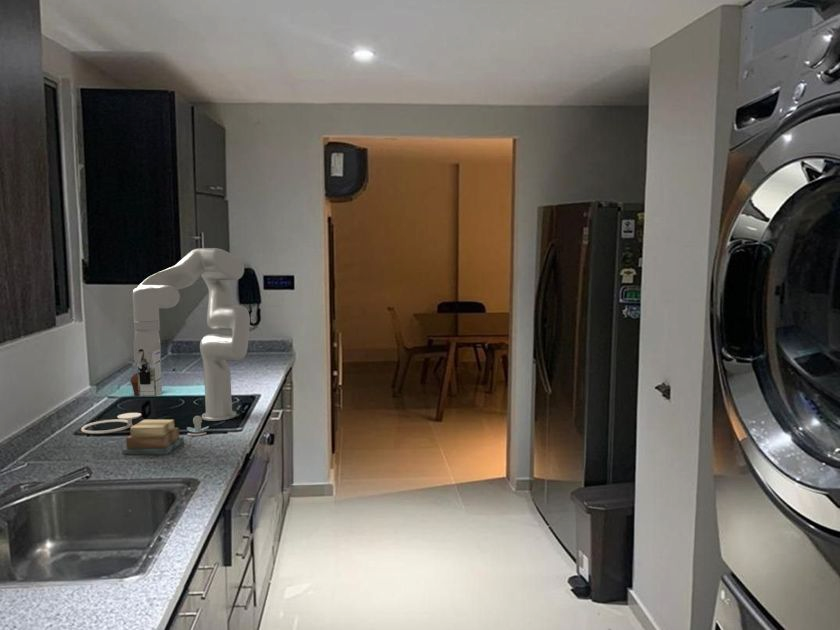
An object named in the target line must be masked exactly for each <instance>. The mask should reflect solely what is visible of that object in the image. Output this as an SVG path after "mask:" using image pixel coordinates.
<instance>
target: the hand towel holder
mask: <svg viewBox="0 0 840 630" xmlns="http://www.w3.org/2000/svg"><path fill="white" fill-rule="evenodd" d="M141 416H142V413H140V412H126V413H122V414H118V415H117V416H116V417H117V419H103V420H99V421H94V422H90V423H87V424H85V425H83V426H82V427H81V428H80V431H81V432H82V433H84V434H91V435H92V434H93V435H101V434H102V435H103V434H110V433H117V432H121V431H125V430H128V429H129V428H131V427H132V426H134V424H133V419H138V418H139V417H141ZM107 423H126V424H127V425H125V426H122V427H118V428H114V429H113V428H112V429H107V430H87V428H88V427H92V426H94V425H100V424H107Z"/></svg>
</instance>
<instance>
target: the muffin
mask: <svg viewBox="0 0 840 630" xmlns="http://www.w3.org/2000/svg"><path fill="white" fill-rule="evenodd" d="M129 382H130V383H131V386H132V392H133V395H134V396H139V387H138V372H136V373H135V374H133V375H132V377H130V379H129Z"/></svg>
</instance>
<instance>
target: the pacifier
mask: <svg viewBox="0 0 840 630" xmlns="http://www.w3.org/2000/svg"><path fill="white" fill-rule="evenodd" d="M192 422H193V425H194V427H191V426H187V427H186V430H187V431H188V432H187V436H190V437H199V436H204V435H207V432H206V430H208V429H209V426H210V425H209V426H205V427H202V422H203V419H202V416H201V415H194V417H193V419H192Z"/></svg>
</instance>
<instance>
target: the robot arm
mask: <svg viewBox="0 0 840 630" xmlns="http://www.w3.org/2000/svg"><path fill="white" fill-rule="evenodd" d="M244 274H245V265H244V262H243V261H242V259H241V258H240V257H239V256H236V255H234V254H233V253H231V252H229V251H226V250H225V249H221V248H218V247H209V248H208V247H202V248H194V249H192V250H191V251H190V252H188V253H187V254H186V255H185V256H183V258H182V259H180V260H179V261H178V262H177V263H176V264H175V265H172V266H171V267H168V268H166V269H163V270H161V271H158V272H156V273H154V274H152V275H150V276H148V277H147V278H145V279H144V280H143V281H142V282H141V283H139V285H138V286H137V287H135V288H134V289H133V290H132V308H133V309H132V311H133V326H134V329H133V330H134V339H133V361H134V363H135V365H136V366H138V369H139V374H140V384H141V385H149V384H151V380H150V372H149V363H150V362H151V359H152V352H153V351H155V350H158V349H159V350H160V358H162V347H161V338H160V332H159V331H160V330H161V325H160V309H171V308H174V307H175V306H176V305H177V304H179V301H180V295H181V294H180V292H179V290H180V289H186V288H188V287H190V286H192V285H193V284H194V283H195V282H196V281H197V280H198V279H199V278H200V277H201V278H202V279H203V281H204V282H205V284H206V287H207V289H208V302H207V303H208V305H207V312H206V313H207V314H206V323H207V326H208V328H209V329H211V330H214V331H229V332H230V331H232V333H210V334H206V335H204V336H203V337H202V339H200V342H199V352H200V356H201V360H202V364H203V365H202V367H203V378H204V379H203V380H204V381H203V382H204V383H203V384H204V400H205V412H204V413H202V415H201V418H202V420H204V421H208V422H210V421H211V422H216V421H217V422H219V421H226V420H230V419H234V418H235V417H236V416H237V412H236V411H235V410H233V401H232V399H233V398H232V382H231V380H232V379H231V375H232V374H231V367H230V366H229V364H228V362H227V361H228V360H229V361H239V360H243V359H244V358H245V357H246V355H247V352H248V348H249V339H250V326H251V317H250V313H249V310H248V309H247V308H246V307H245V306H243V305H241V304H240V305H238V304H235V305H234V304H233V291H232V288H231V286H230V285H229V283H228V282H227V281H238V280H239V279H241V278H242V277H243V275H244ZM142 360H146V361H147V362H142ZM143 364H146V367H145V365H143Z"/></svg>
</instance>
